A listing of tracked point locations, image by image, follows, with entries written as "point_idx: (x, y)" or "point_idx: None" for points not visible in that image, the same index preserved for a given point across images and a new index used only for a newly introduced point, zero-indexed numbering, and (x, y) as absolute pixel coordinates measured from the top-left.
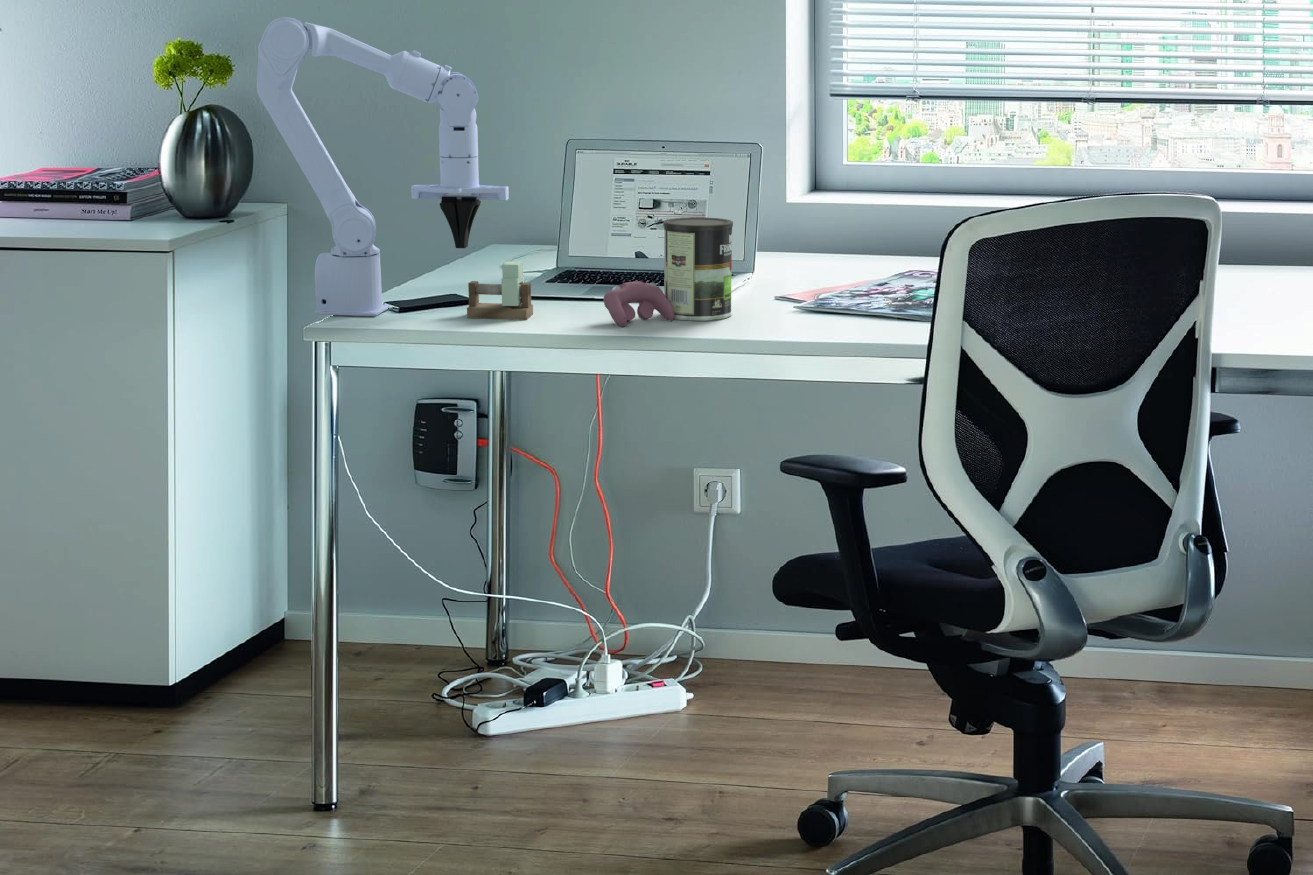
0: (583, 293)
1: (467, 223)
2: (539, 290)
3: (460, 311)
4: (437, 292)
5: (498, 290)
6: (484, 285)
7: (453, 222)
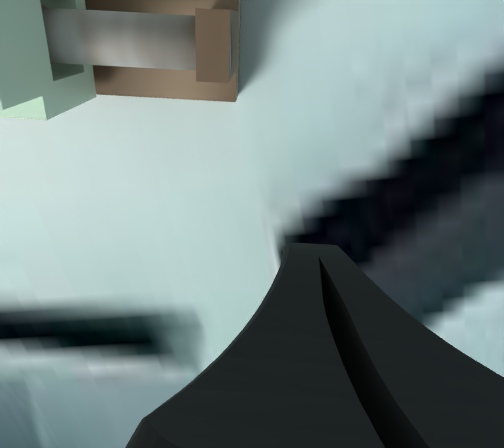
0: (28, 395)
1: (246, 326)
2: None
3: (293, 118)
4: None
5: (87, 10)
6: (153, 24)
7: (388, 332)
